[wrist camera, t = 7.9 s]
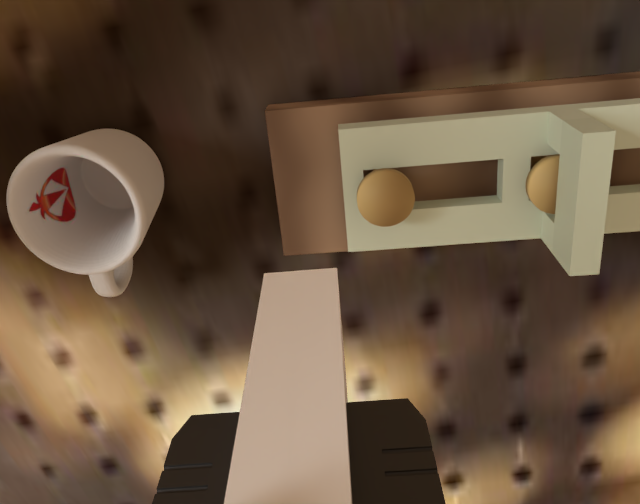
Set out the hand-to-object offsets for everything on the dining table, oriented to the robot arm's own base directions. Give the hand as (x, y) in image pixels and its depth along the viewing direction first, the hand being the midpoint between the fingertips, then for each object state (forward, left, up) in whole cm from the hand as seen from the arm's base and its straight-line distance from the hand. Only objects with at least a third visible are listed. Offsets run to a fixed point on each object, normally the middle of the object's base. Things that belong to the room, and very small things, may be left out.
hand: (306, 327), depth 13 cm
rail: (+11, 0, -28) cm, 30 cm away
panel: (+12, +1, -26) cm, 28 cm away
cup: (-10, -12, -29) cm, 33 cm away
